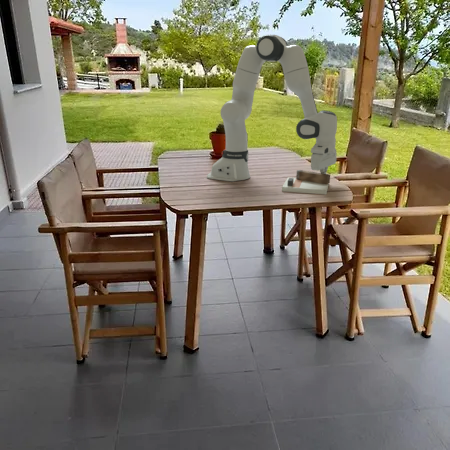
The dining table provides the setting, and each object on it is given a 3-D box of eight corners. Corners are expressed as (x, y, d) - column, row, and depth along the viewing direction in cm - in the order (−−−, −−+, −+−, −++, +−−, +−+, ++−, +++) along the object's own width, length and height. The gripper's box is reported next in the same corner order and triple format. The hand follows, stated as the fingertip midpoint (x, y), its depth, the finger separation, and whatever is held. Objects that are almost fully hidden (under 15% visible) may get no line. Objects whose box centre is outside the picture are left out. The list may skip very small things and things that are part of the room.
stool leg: (295, 179, 198) (295, 170, 197) (298, 177, 201) (298, 169, 199) (326, 184, 189) (327, 175, 188) (329, 182, 191) (330, 174, 190)
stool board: (281, 191, 187) (282, 181, 185) (287, 181, 203) (288, 172, 201) (326, 194, 181) (327, 184, 180) (328, 184, 198) (329, 175, 196)
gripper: (328, 143, 198) (326, 171, 203) (309, 149, 183) (307, 179, 188) (341, 144, 194) (338, 172, 199) (322, 151, 179) (319, 181, 184)
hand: (323, 176), depth 193 cm, fingers closed
